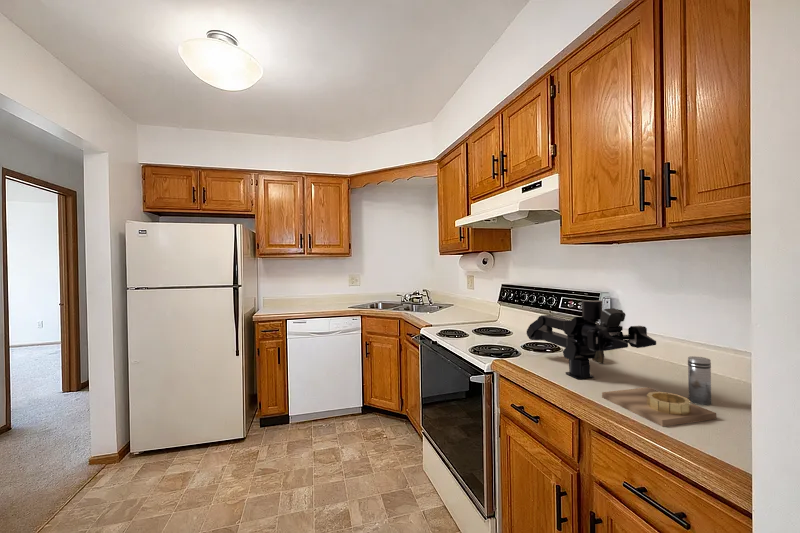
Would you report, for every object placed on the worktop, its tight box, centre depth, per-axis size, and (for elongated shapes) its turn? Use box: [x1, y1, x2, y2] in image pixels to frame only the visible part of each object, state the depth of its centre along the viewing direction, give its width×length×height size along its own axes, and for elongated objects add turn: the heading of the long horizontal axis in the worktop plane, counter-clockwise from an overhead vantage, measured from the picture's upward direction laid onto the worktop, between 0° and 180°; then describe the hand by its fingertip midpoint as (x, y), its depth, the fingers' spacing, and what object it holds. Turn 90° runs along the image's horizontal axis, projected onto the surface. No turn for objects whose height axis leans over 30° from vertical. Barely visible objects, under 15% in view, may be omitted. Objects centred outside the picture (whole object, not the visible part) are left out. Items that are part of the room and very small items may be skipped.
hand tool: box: [591, 351, 605, 364], centre depth 147 cm, size 23×5×6 cm, turn 170°
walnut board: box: [601, 386, 717, 427], centre depth 95 cm, size 19×16×2 cm
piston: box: [687, 355, 712, 406], centre depth 98 cm, size 5×5×12 cm
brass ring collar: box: [647, 391, 692, 415], centre depth 92 cm, size 9×9×2 cm
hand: (641, 344), depth 98 cm, fingers open, 9 cm apart
